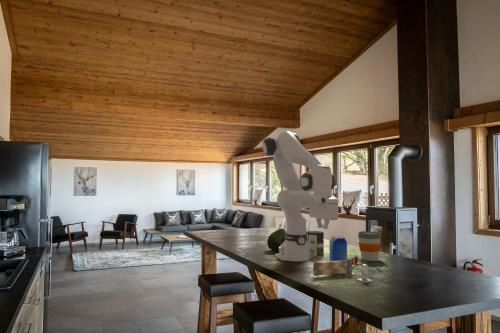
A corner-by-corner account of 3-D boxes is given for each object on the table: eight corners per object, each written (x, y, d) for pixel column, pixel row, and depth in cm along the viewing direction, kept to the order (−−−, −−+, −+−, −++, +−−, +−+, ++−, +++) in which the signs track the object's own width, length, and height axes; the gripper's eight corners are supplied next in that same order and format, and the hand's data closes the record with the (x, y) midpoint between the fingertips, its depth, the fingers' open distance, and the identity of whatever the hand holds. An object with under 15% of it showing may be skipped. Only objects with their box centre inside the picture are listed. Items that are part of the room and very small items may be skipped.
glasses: (356, 264, 203) (356, 254, 203) (388, 267, 194) (388, 257, 194) (347, 268, 191) (347, 258, 191) (381, 273, 182) (381, 262, 183)
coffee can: (322, 254, 228) (322, 231, 228) (325, 258, 217) (325, 233, 218) (305, 254, 228) (305, 230, 229) (307, 257, 218) (307, 233, 218)
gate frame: (339, 273, 179) (339, 258, 179) (350, 272, 181) (350, 257, 181) (363, 282, 162) (363, 266, 162) (375, 281, 164) (375, 265, 165)
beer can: (334, 272, 182) (334, 238, 183) (326, 268, 190) (326, 236, 191) (350, 271, 184) (350, 237, 185) (341, 267, 192) (341, 235, 193)
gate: (349, 272, 179) (349, 258, 180) (353, 273, 177) (352, 259, 177) (312, 275, 172) (312, 261, 172) (316, 276, 170) (315, 262, 170)
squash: (260, 243, 234) (276, 225, 232) (266, 241, 249) (281, 224, 247) (276, 260, 230) (293, 242, 228) (282, 256, 245) (297, 239, 243)
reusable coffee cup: (377, 262, 205) (376, 234, 206) (354, 259, 213) (354, 232, 213) (384, 259, 215) (384, 232, 216) (363, 256, 223) (362, 230, 223)
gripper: (305, 198, 188) (305, 226, 188) (328, 199, 169) (328, 231, 169) (316, 198, 191) (316, 225, 190) (340, 199, 172) (340, 230, 171)
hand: (322, 228), depth 179 cm, fingers open, 3 cm apart
